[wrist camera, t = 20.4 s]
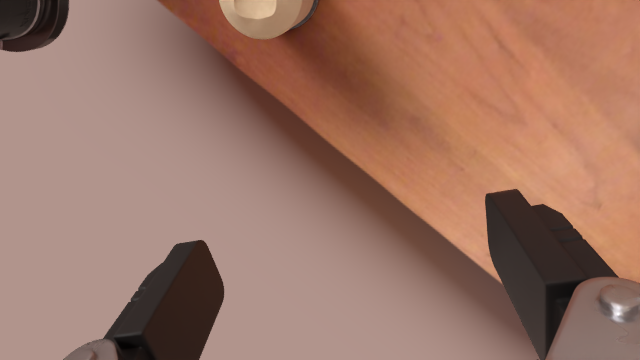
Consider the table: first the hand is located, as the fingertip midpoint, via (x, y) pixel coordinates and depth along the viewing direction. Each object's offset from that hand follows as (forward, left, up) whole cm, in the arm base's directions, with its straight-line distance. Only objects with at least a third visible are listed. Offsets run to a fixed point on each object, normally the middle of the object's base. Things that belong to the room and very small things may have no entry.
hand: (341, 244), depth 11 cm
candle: (-8, +3, -27) cm, 29 cm away
